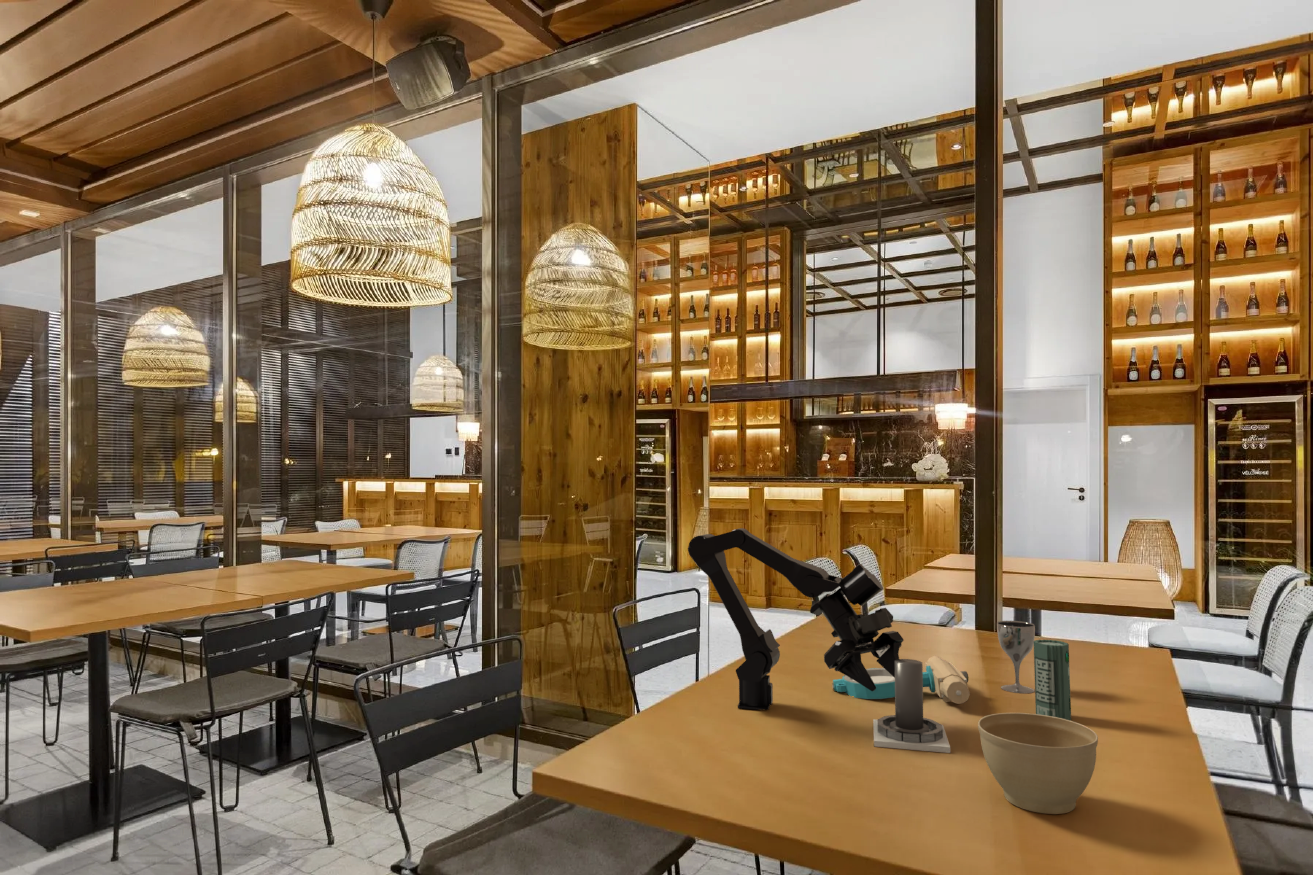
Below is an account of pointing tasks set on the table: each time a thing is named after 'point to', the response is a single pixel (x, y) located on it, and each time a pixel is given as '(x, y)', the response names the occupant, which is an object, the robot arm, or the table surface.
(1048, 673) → the can
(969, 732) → the table surface
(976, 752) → the table surface
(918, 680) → the pipe fitting
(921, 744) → the flange plate
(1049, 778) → the planter bowl
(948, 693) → the butterfly valve
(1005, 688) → the wine glass
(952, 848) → the table surface
